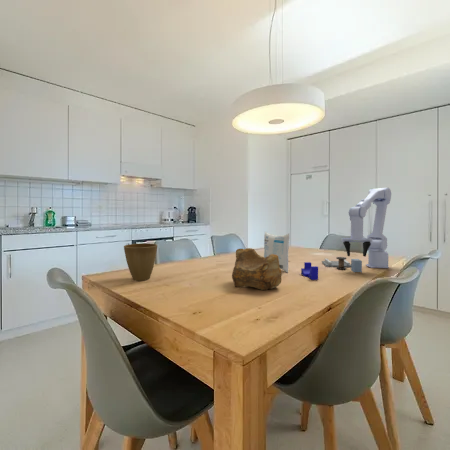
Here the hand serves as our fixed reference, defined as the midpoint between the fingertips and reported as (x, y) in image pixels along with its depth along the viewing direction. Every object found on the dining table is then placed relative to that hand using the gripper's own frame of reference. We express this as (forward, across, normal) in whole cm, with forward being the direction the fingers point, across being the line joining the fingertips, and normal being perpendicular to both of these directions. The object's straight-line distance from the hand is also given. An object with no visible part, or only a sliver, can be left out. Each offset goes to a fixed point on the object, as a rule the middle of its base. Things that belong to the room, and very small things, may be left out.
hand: (356, 256), depth 144 cm
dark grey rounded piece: (+8, -6, +6) cm, 12 cm away
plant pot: (+8, -103, -32) cm, 108 cm away
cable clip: (+8, -26, -16) cm, 31 cm away
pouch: (+8, -41, -1) cm, 42 cm away
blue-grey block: (+8, 0, 0) cm, 8 cm away
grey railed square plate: (+8, -6, +17) cm, 20 cm away
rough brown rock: (+8, -52, -37) cm, 64 cm away
